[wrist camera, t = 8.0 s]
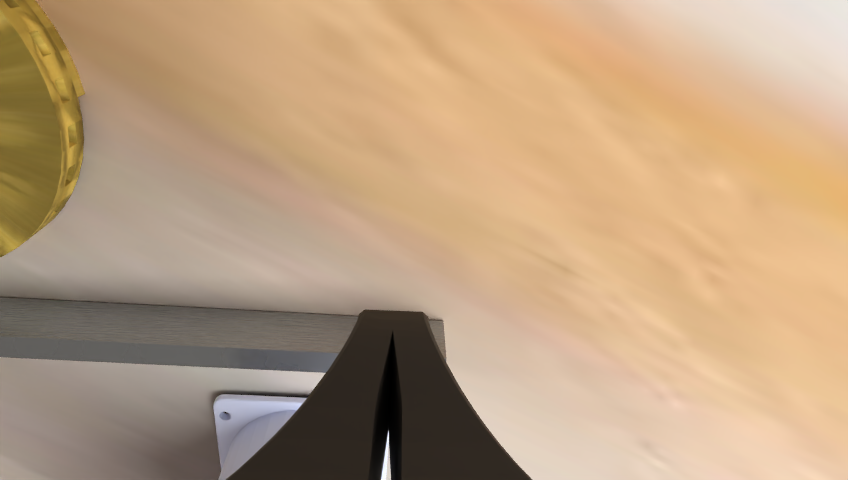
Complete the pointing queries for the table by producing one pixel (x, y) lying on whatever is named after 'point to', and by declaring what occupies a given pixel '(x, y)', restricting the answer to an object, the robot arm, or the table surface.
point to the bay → (175, 335)
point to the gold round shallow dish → (35, 122)
